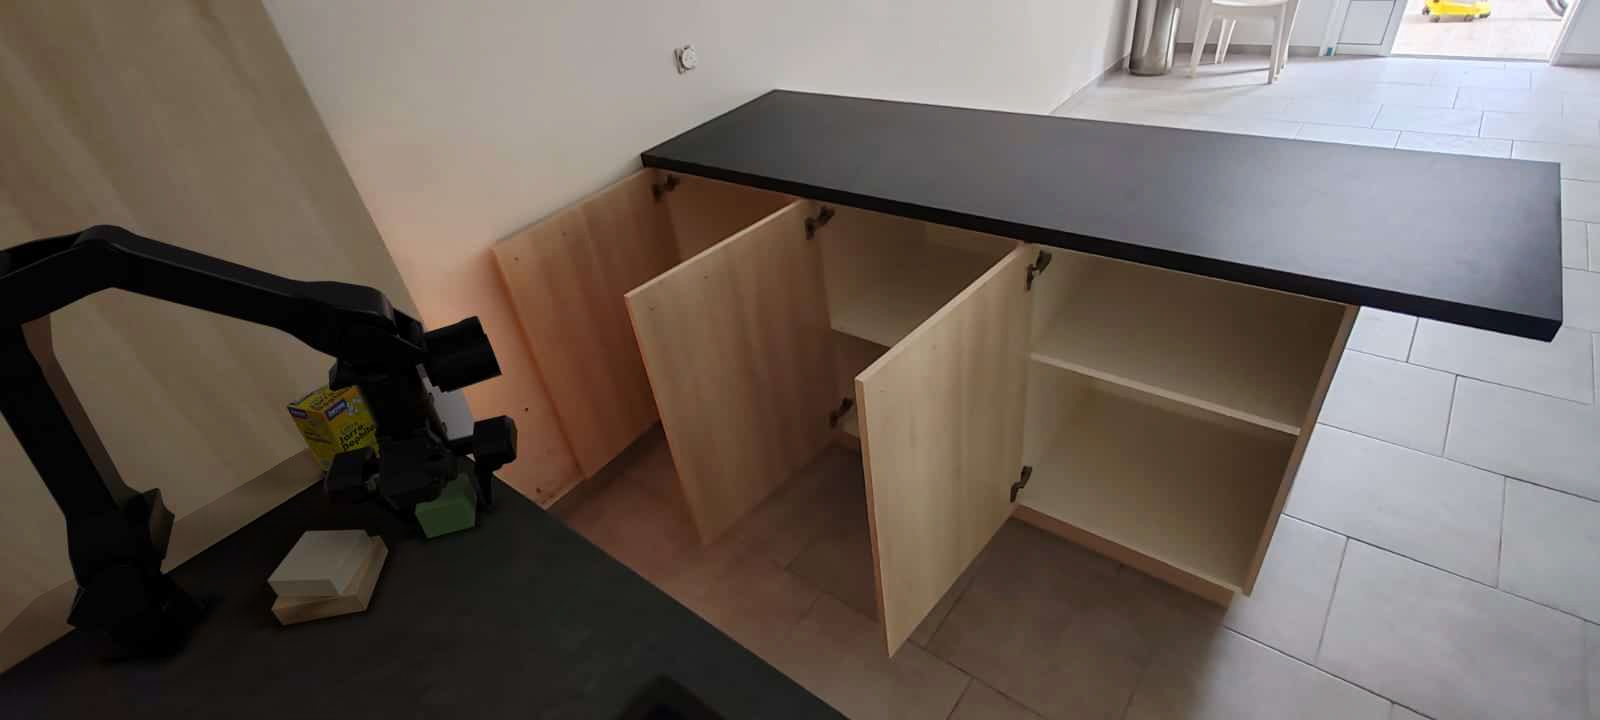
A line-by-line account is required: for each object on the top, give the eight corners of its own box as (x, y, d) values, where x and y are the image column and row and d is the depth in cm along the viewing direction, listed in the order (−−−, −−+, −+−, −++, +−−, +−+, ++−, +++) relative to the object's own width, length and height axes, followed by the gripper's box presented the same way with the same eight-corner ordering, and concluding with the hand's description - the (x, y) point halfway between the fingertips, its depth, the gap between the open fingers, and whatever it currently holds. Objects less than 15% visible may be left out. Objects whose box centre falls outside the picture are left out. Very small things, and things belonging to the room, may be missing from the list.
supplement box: (359, 483, 91) (321, 413, 85) (323, 475, 93) (283, 406, 87) (395, 452, 96) (361, 383, 90) (360, 444, 98) (324, 377, 92)
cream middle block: (278, 597, 74) (266, 580, 73) (316, 547, 79) (305, 530, 78) (340, 596, 74) (329, 579, 72) (374, 545, 79) (364, 529, 78)
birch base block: (282, 625, 74) (270, 609, 73) (312, 564, 81) (302, 548, 79) (365, 610, 75) (355, 594, 74) (388, 550, 82) (379, 535, 80)
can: (461, 459, 94) (427, 382, 87) (416, 455, 95) (380, 379, 88) (489, 427, 99) (459, 352, 92) (446, 424, 100) (413, 350, 93)
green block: (427, 538, 83) (414, 513, 80) (432, 508, 87) (420, 483, 84) (474, 526, 84) (462, 501, 81) (477, 497, 88) (466, 471, 85)
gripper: (279, 478, 68) (349, 590, 76) (490, 429, 72) (535, 541, 80) (308, 409, 77) (369, 516, 85) (495, 368, 80) (535, 475, 89)
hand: (451, 513), depth 85 cm, fingers open, 8 cm apart
